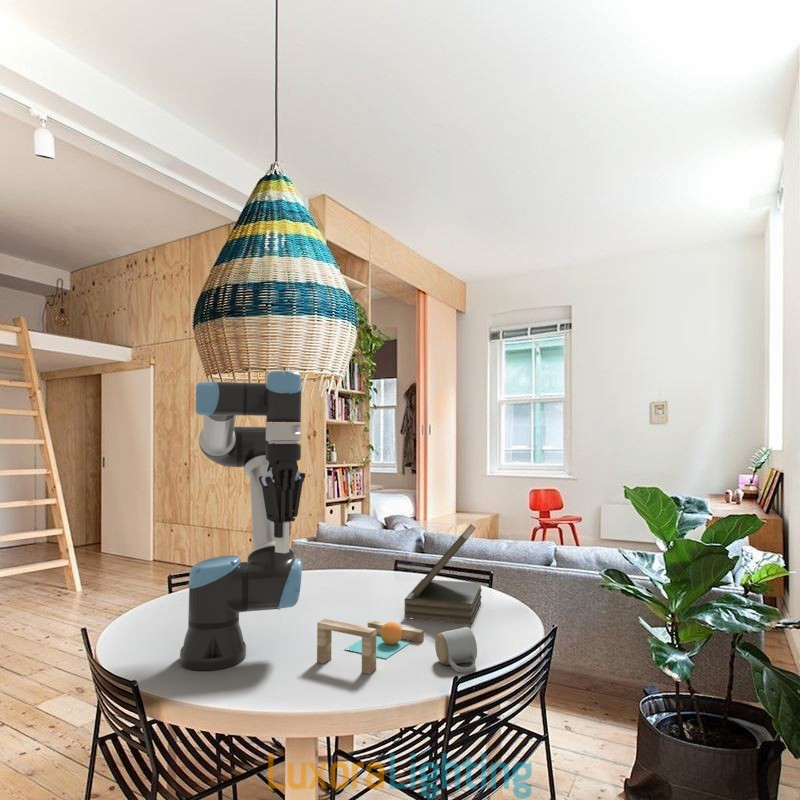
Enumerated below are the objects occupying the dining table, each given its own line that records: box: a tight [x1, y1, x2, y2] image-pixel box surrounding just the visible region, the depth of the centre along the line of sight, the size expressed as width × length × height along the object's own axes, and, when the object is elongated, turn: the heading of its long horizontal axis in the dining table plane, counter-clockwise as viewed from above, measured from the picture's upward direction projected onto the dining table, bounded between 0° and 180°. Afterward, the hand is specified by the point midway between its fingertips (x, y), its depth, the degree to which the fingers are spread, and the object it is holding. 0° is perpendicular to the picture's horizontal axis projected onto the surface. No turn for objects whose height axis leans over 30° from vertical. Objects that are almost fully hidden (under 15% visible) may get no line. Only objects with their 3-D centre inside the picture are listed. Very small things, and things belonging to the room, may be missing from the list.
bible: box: [403, 523, 483, 625], centre depth 185 cm, size 23×20×25 cm
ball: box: [380, 621, 402, 645], centre depth 156 cm, size 6×6×6 cm
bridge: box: [316, 618, 377, 675], centre depth 142 cm, size 3×14×9 cm, turn 61°
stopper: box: [367, 620, 425, 643], centre depth 162 cm, size 16×2×2 cm, turn 61°
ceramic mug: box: [434, 626, 478, 674], centre depth 143 cm, size 11×8×8 cm
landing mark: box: [344, 635, 410, 660], centre depth 154 cm, size 12×12×1 cm
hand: (282, 552), depth 131 cm, fingers closed
